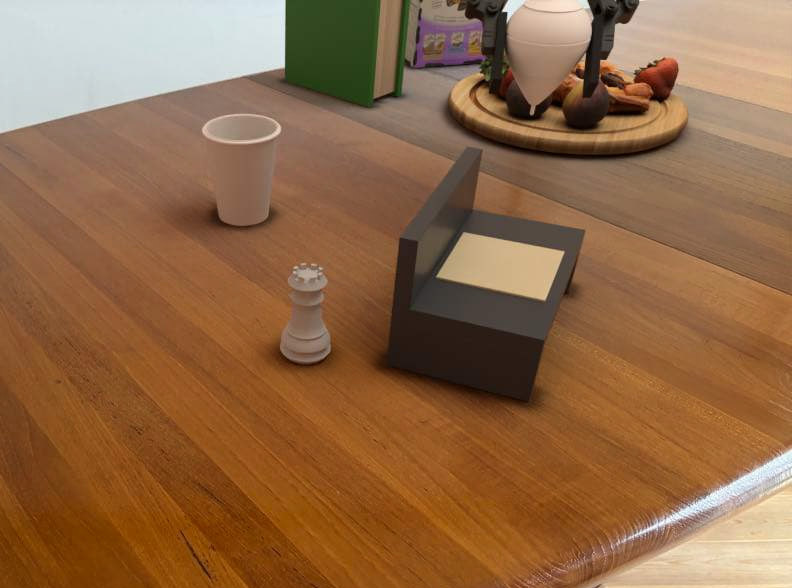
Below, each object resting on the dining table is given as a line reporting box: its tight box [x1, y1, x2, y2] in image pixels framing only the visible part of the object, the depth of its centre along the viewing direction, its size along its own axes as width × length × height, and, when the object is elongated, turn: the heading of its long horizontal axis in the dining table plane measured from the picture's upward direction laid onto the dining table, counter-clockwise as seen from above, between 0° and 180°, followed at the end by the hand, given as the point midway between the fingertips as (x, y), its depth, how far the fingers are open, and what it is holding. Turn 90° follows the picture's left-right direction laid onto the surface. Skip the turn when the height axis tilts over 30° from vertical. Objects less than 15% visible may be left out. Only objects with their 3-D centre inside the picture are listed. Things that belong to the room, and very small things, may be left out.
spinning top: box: [504, 0, 592, 115], centre depth 76 cm, size 8×8×12 cm
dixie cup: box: [201, 113, 282, 227], centre depth 90 cm, size 8×8×10 cm
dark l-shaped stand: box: [385, 146, 586, 403], centre depth 71 cm, size 12×20×12 cm, turn 154°
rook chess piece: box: [279, 262, 332, 365], centre depth 69 cm, size 4×4×8 cm
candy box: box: [405, 0, 486, 69], centre depth 132 cm, size 14×6×16 cm, turn 100°
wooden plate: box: [447, 49, 689, 156], centre depth 114 cm, size 32×32×8 cm
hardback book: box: [284, 0, 410, 108], centre depth 120 cm, size 18×7×24 cm, turn 42°
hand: (542, 88), depth 75 cm, fingers closed on spinning top, 8 cm apart
